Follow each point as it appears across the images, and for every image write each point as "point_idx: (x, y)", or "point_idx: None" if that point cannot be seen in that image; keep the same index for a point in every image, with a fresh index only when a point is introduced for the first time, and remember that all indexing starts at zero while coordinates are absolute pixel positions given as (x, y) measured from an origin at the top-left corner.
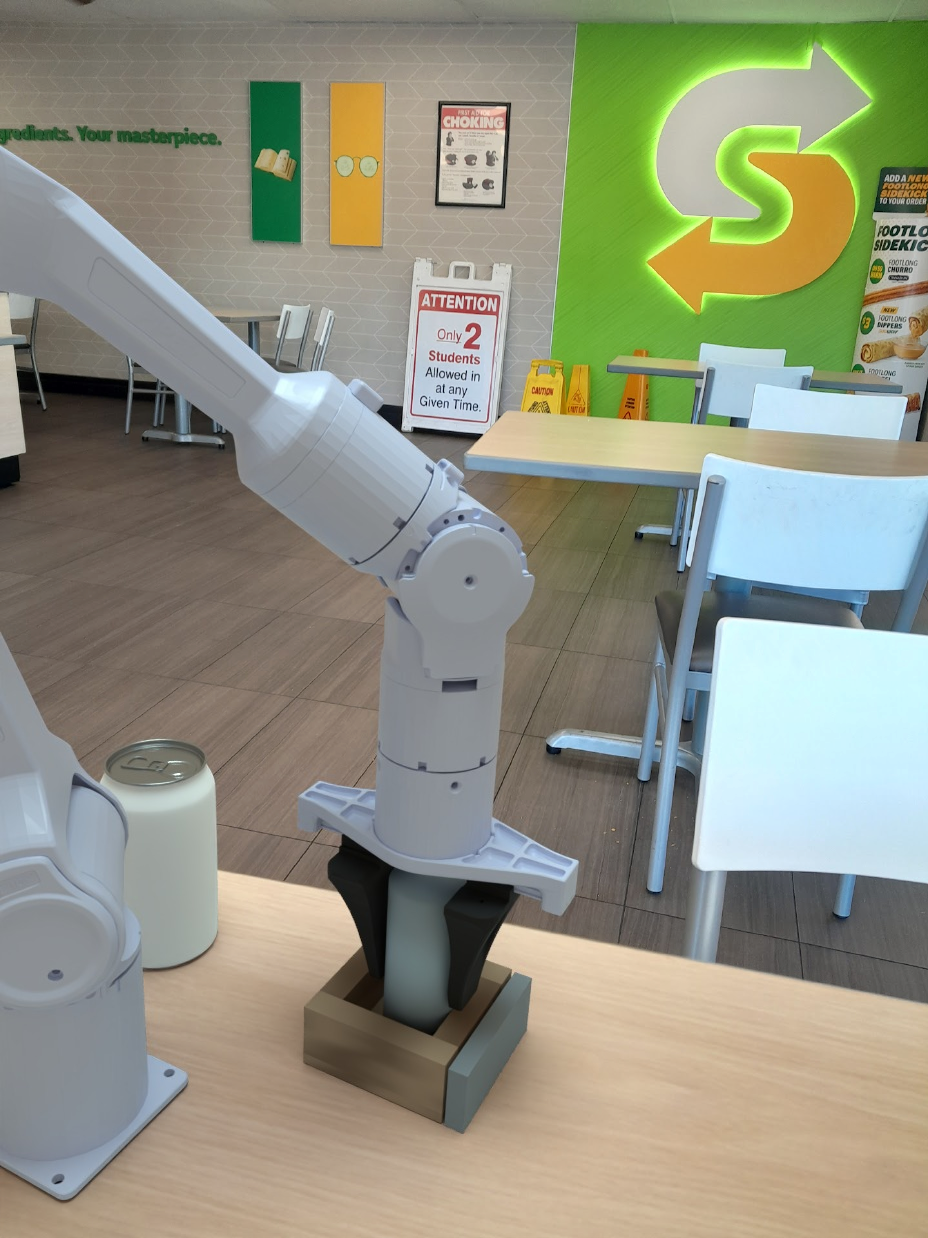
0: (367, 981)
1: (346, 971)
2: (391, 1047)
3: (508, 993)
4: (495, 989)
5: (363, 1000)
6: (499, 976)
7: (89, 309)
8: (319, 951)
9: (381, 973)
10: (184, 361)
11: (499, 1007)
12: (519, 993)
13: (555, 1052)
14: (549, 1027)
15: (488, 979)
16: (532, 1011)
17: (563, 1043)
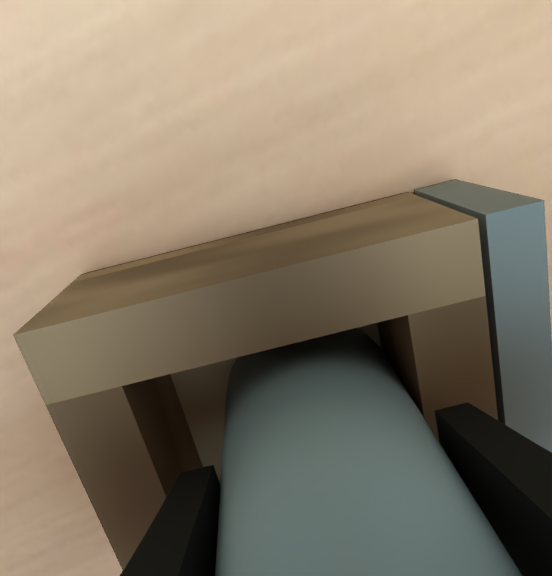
0: (173, 481)
1: (129, 538)
2: None
3: (516, 305)
4: (482, 325)
5: (184, 464)
6: (463, 273)
7: None
8: None
9: None
10: None
11: (520, 361)
12: (541, 281)
13: (536, 185)
14: (491, 127)
15: (444, 307)
16: (432, 110)
17: (539, 149)
